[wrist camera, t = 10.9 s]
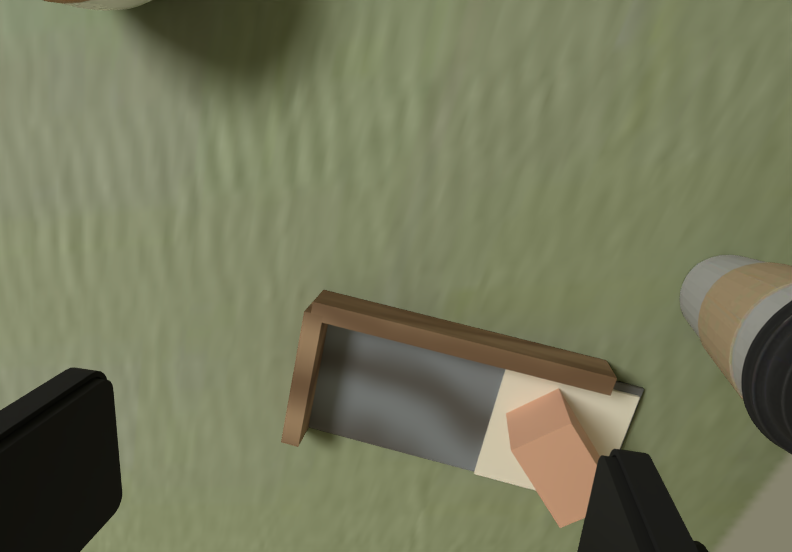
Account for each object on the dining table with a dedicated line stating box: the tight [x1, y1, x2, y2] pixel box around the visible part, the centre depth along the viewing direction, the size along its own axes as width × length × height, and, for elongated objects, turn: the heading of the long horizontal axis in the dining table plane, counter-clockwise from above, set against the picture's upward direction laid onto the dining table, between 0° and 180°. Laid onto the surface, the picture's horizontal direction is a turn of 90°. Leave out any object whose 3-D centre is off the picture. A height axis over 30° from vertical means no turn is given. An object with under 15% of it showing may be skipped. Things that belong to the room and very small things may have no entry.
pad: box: [474, 369, 640, 490], centre depth 42 cm, size 10×10×1 cm
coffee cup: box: [680, 255, 792, 454], centre depth 30 cm, size 9×9×15 cm
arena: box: [281, 290, 644, 471], centre depth 41 cm, size 12×26×3 cm, turn 78°
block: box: [506, 388, 600, 528], centre depth 39 cm, size 7×4×5 cm, turn 32°
